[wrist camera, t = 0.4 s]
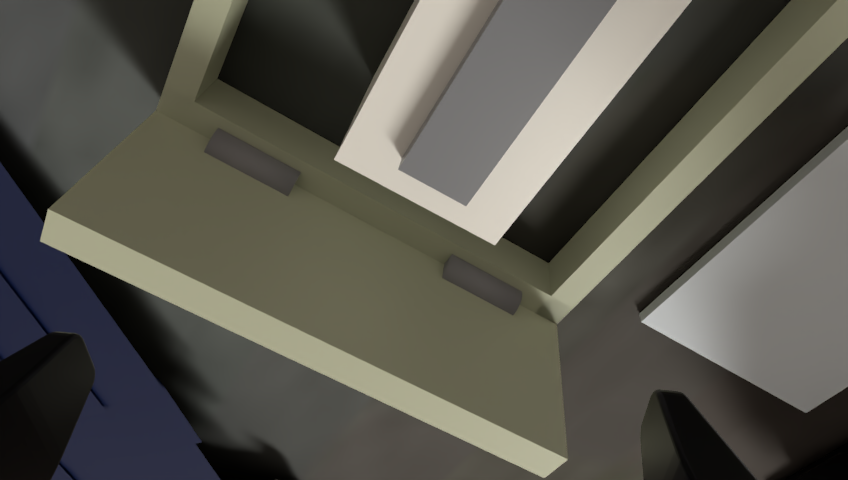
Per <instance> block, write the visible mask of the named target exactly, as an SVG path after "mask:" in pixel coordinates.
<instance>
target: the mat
mask: <svg viewBox="0 0 848 480" xmlns="http://www.w3.org/2000/svg"><path fill="white" fill-rule="evenodd" d="M639 315H640V319H641V322H642V323H644V324H646V325H648V326H649V327H651V328H653V329H655V330H657V331H658V332H660V333H662V334H664V335H666V336H667V337H669V338H671V339H673V340H675V341H676V342H678V343H680V344H682V345H684V346H686V347H687V348H689V349H691V350H693V351H695V352H696V353H698V354H700V355H702V356H704V357H705V358H707V359H709V360H711V361H713V362H714V363H716V364H718V365H720V366H722V367H723V368H725V369H727V370H729V371H731V372H732V373H734V374H736V375H738V376H740V377H741V378H743V379H745V380H747V381H749V382H750V383H752V384H754V385H756V386H758V387H760V388H761V389H763V390H765V391H767V392H769V393H770V394H772V395H774V396H776V397H778V398H779V399H781V400H783V401H785V402H787V403H788V404H790V405H792V406H794V407H796V408H797V409H799V410H801V411H803V412H805V413H807V412H809V411H810V410H812V409H814V408H815V407H817V406H818V405H820V404H821V403H823V402H825V401H826V400H828V399H829V398H831V397H832V396H834V395H835V394H837V393H839V392H840V391H842V390H843V389H845V388H846V387H848V127H847V128H845V129H844V130H843V131H842V132H841V133H840V134H839V135H838V136H836V137H835V138H834V139H833V140H832V141H831V142H830V143H829V144H828V145H826V146H825V147H824V148H823V149H822V150H821V151H820V152H819V153H818V154H816V155H815V156H814V157H813V158H812V159H811V160H810V161H809V162H808V163H806V164H805V165H804V166H803V167H802V168H801V169H800V170H799V171H797V172H796V173H795V174H794V175H793V176H792V177H791V178H790V179H789V180H787V181H786V182H785V183H784V184H783V185H782V186H781V187H780V188H779V189H777V190H776V191H775V192H774V193H773V194H772V195H771V196H770V197H769V198H767V199H766V200H765V201H764V202H763V203H762V204H761V205H760V206H758V207H757V208H756V209H755V210H754V211H753V212H752V213H751V214H750V215H748V216H747V217H746V218H745V219H744V220H743V221H742V222H741V223H740V224H738V225H737V226H736V227H735V228H734V229H733V230H732V231H731V232H730V233H728V234H727V235H726V236H725V237H724V238H723V239H722V240H721V241H720V242H718V243H717V244H716V245H715V246H714V247H713V248H712V249H711V250H709V251H708V252H707V253H706V254H705V255H704V256H703V257H702V258H701V259H699V260H698V261H697V262H696V263H695V264H694V265H693V266H692V267H691V268H689V269H688V270H687V271H686V272H685V273H684V274H683V275H682V276H681V277H679V278H678V279H677V280H676V281H675V282H674V283H673V284H672V285H670V286H669V287H668V288H667V289H666V290H665V291H664V292H663V293H662V294H660V295H659V296H658V297H657V298H656V299H655V300H654V301H653V302H652V303H650V304H649V305H648V306H647V307H646V308H645V309H644V310H643V311H642V312H640V313H639Z"/></svg>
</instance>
